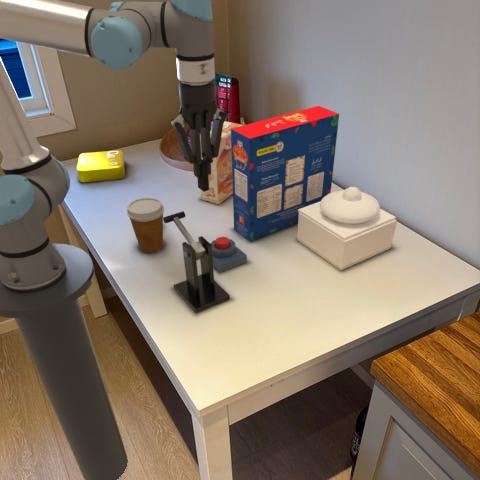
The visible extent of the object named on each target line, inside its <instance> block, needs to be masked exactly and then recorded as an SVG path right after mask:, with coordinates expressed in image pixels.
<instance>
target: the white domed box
mask: <svg viewBox="0 0 480 480" xmlns="http://www.w3.org/2000/svg"><path fill="white" fill-rule="evenodd" d="M298 212H299V218H298V224H297V235H296V236H297V237H296V241H298V242H299V243H301V244H302V245H304V246H305V247H306V248H308V249H309V250H311V251H312V252H314V253H315V254H316V255H318V256H320V257H321V258H322V259H324V260H325V261H327V262H329V264H331V265H333V266H334V267H335V268H337V269H339V270H340V271H343V270H345V269H347V268H350V267H351V266H354V265H356V264H359V263H361V262H363V261H365V260H368V259H369V258H372V257H374V256H376V255H378V254H381V253H383V252H386V251H388V250H390V249H391V248H392V246H393V241H394V236H395V231H396V227H397V222H398V220H397V217H396V216H395V215H393V214H392V213H390V212H388V211H386V210H384V209H382V208H381V206H380V203H379V201H378V200H377V199H376V198H375V197H373V196H372V195H370V194H368V193H366V192H364V191H361V190H360V189H359V188H358V187H356V186H349V187H347V188H345V189H341V190H336V191H331V193H330V194H328V195H326V196H325V197H324V198H323V199H322V200H321V201H320V202H317V203H315V204H312V205H309V206H306V207H304V208H301V209H298Z"/></svg>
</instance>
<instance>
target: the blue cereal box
mask: <svg viewBox="0 0 480 480" xmlns="http://www.w3.org/2000/svg"><path fill="white" fill-rule="evenodd" d="M339 119H340V113H339V112H336V111H333V110H331V109H329V108H326V107H323V106H320V105H316V106H312V107H308V108H303V109H301V110H297V111H293V112H289V113H284V114H282V115H278V116H274V117H270V118H265V119H263V120H259V121H255V122H251V123H248V124H247V123H246V124H242V125H243V126H239V127H235V128H232V129H231V151H232V181H233V194H232V208H233V210H232V211H233V230H234V231H235V232H236V233H238V234H239V235H241V236H242V237H243V238H244V239H246V241H248V242H250V243H252V242H254V241H257V240H259V239H262V238H265V237H267V236H270V235H272V234H276V233H277V232H280V231H283V230H285V229H289V228H291V227H293V226H295V225H298V218H299V212H298V209H301V208H304V207H306V206H309V205H312V204H315V203H317V202H320V201H321V200H322V199H323V198H324V197H325V196H326V195H328V194H330V193H332V185H333V184H332V183H333V174H334V166H335V158H336V157H335V156H336V149H337V148H336V147H337V139H338V130H339Z"/></svg>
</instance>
